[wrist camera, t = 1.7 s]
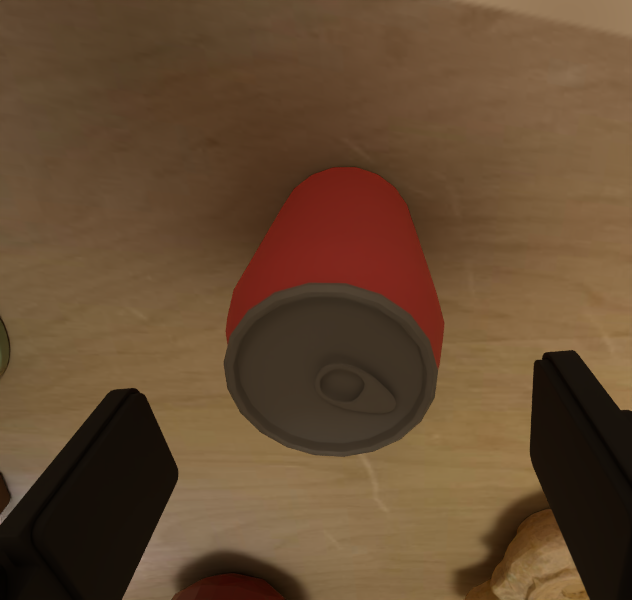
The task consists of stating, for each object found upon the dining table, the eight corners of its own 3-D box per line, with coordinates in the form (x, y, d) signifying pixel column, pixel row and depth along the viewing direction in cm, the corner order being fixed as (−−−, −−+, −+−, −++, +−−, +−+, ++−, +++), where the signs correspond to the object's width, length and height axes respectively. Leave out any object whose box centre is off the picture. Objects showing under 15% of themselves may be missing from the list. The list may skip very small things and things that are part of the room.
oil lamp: (445, 594, 35) (457, 668, 31) (476, 473, 29) (496, 546, 24) (580, 608, 35) (612, 686, 30) (645, 486, 28) (698, 565, 23)
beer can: (370, 308, 24) (377, 500, 13) (260, 256, 23) (173, 417, 12) (437, 202, 21) (516, 341, 10) (313, 138, 20) (258, 215, 9)
